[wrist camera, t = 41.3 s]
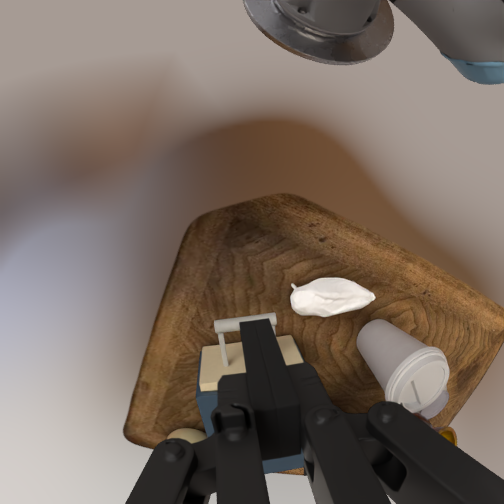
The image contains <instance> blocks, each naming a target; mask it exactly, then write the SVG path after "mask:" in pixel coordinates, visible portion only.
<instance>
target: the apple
mask: <svg viewBox="0 0 504 504" xmlns="http://www.w3.org/2000/svg"><path fill="white" fill-rule="evenodd" d="M170 438H182V439H185V440H187V441H189V442H190V443H191V444H192V443H195V442H199V441H202V440H204V439H207V438H208V437H207V434H206V433H204V432H202V431H199V430H196V429H191V428H182V429H178V430H175V431H173V432H172V433H171V434H169V436H168V437H167V439H170Z"/></svg>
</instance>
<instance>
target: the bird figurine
mask: <svg viewBox="0 0 504 504" xmlns="http://www.w3.org/2000/svg"><path fill="white" fill-rule="evenodd" d="M291 285H292V287H293V288H294V291H293V292H292V294H291V296H290V299H291V306H292V309H293V310H294V311H296V313H298V314H300V315H318V316H322V317H328V316H332V315H336V314H340V313H344V312H348V311H352V310H356V309H361V308H363V307H365V306H366V305H368V304H369V303H370V302H371V301H373V300H374V298H376V297H375V296H374V294H373V293H372V292H371V293H370V292H369V291H368V290H367V289H365V288H363V287H361V286H360V285H358V284H356V283H355V282H354V283H353V281H349V280H347V279H343V278H319V279H317V280H314V281H312V282H310V283H309V284H306V285H304V286H301V287H299V288H297V287H296V286H295V285H294V284H291Z"/></svg>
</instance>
